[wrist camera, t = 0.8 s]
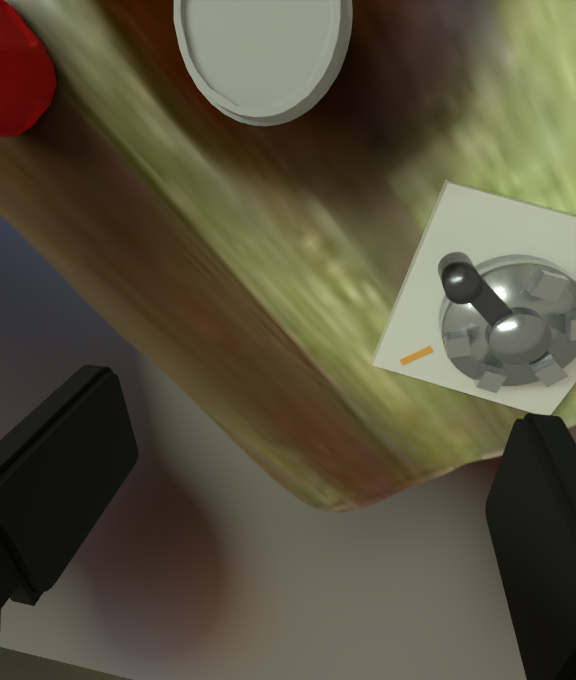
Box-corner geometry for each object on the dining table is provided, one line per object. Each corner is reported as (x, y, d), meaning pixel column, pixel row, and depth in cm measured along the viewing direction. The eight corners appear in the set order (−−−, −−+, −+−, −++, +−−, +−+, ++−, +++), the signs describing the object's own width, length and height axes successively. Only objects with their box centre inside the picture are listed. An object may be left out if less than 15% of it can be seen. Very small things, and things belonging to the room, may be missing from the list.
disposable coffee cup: (215, 74, 32) (140, 62, 22) (272, -72, 28) (209, -173, 17) (315, 143, 34) (287, 162, 23) (388, 15, 29) (392, -32, 18)
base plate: (445, 179, 33) (448, 182, 32) (668, 240, 32) (681, 246, 31) (372, 357, 43) (372, 365, 41) (543, 407, 42) (548, 418, 40)
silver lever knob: (604, 319, 34) (659, 373, 28) (486, 386, 40) (508, 445, 33) (498, 191, 31) (531, 216, 24) (385, 282, 36) (387, 324, 30)
